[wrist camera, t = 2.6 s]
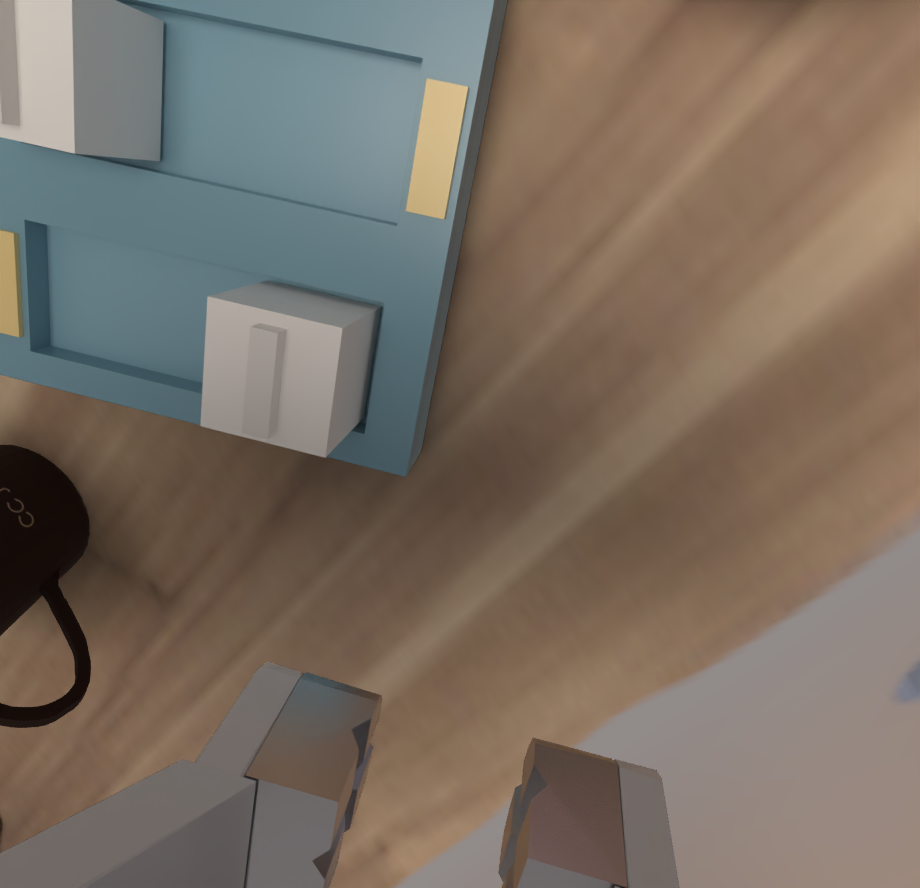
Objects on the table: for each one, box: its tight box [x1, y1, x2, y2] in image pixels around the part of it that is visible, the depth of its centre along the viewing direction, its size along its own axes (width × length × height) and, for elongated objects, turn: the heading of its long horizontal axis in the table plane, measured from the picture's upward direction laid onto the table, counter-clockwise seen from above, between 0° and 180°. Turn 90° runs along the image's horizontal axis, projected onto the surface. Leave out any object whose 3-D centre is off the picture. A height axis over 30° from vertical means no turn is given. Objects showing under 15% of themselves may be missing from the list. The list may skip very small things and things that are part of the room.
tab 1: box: [0, 0, 164, 161], centre depth 19 cm, size 4×4×5 cm
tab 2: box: [200, 280, 381, 458], centre depth 21 cm, size 4×4×5 cm
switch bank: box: [0, 0, 508, 477], centre depth 21 cm, size 21×16×3 cm
